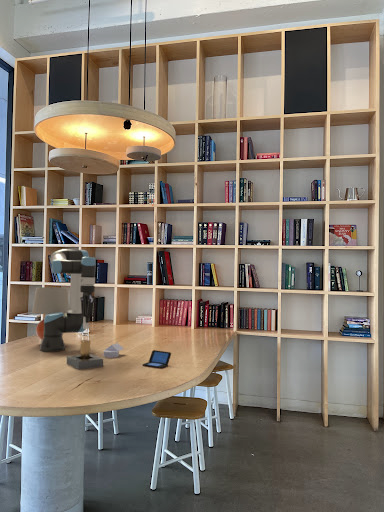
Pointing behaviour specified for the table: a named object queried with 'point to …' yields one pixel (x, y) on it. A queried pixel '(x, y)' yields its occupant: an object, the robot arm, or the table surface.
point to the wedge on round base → (112, 351)
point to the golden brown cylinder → (85, 349)
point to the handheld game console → (158, 359)
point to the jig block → (84, 362)
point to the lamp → (49, 304)
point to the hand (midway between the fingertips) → (86, 328)
